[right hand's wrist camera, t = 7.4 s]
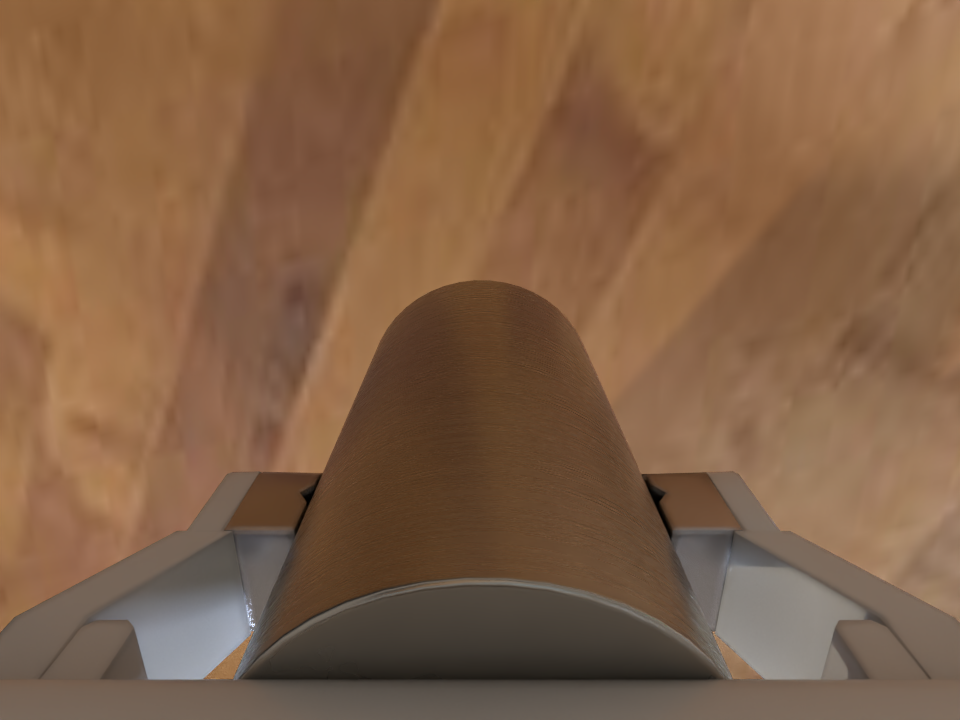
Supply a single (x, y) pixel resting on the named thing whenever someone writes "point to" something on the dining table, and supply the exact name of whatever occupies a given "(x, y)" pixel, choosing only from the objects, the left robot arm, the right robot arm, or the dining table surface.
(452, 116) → the dining table surface
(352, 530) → the canister
